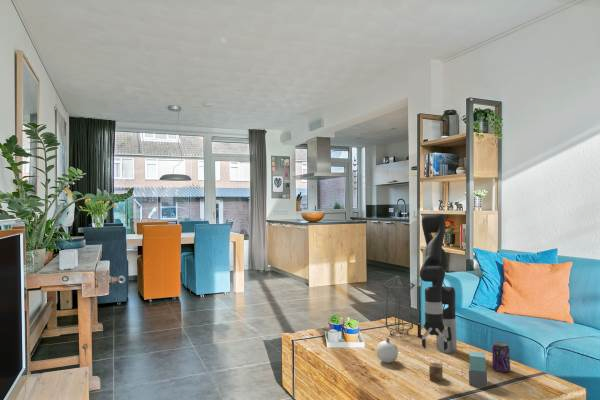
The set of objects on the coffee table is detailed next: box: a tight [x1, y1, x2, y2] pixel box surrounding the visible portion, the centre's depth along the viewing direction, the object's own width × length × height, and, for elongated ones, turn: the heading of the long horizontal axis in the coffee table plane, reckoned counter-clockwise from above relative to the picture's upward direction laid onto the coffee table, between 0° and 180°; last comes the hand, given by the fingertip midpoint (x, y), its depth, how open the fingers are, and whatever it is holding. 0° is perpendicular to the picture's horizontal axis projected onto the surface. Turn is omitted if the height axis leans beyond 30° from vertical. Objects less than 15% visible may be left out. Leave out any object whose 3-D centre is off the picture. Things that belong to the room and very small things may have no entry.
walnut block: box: [428, 362, 444, 383], centre depth 182 cm, size 5×5×6 cm
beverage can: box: [491, 341, 511, 373], centre depth 190 cm, size 7×7×12 cm
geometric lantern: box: [380, 275, 416, 338], centre depth 248 cm, size 16×16×35 cm
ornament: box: [376, 337, 399, 364], centre depth 204 cm, size 10×10×12 cm
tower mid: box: [469, 350, 487, 372], centre depth 177 cm, size 6×6×6 cm
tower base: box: [468, 364, 488, 388], centre depth 177 cm, size 7×7×6 cm
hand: (434, 348), depth 182 cm, fingers open, 8 cm apart
